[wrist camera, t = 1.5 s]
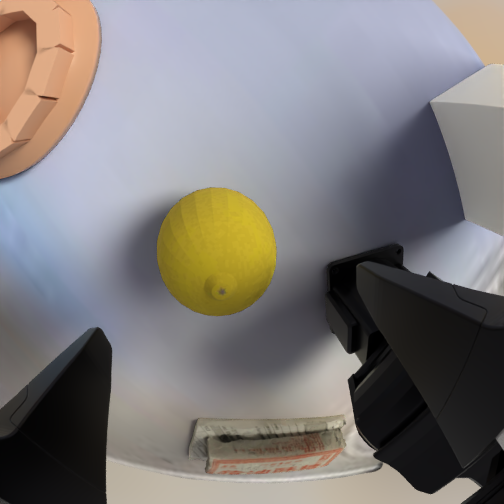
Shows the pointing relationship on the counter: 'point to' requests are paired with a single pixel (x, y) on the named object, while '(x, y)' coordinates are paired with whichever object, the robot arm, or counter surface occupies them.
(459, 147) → the milk
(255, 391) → the counter surface
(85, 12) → the holder
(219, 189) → the lemon
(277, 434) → the packaged product
